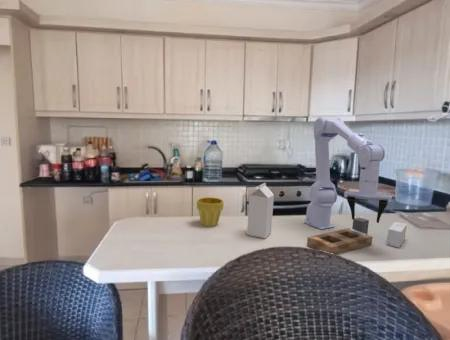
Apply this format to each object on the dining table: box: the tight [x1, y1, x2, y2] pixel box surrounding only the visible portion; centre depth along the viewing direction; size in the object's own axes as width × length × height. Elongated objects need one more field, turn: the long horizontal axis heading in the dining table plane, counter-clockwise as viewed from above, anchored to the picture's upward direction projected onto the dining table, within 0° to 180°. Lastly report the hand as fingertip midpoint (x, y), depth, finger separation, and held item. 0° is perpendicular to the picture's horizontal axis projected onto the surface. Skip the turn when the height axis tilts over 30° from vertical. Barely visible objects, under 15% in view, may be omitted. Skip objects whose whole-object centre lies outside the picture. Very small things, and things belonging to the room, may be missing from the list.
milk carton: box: [246, 182, 275, 239], centre depth 117 cm, size 7×7×19 cm
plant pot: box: [196, 196, 224, 228], centre depth 126 cm, size 10×10×10 cm
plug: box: [351, 216, 370, 235], centre depth 123 cm, size 4×4×7 cm
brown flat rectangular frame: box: [306, 227, 374, 256], centre depth 111 cm, size 10×22×3 cm, turn 123°
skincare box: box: [386, 221, 407, 248], centre depth 117 cm, size 6×4×12 cm
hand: (365, 220), depth 109 cm, fingers open, 7 cm apart
